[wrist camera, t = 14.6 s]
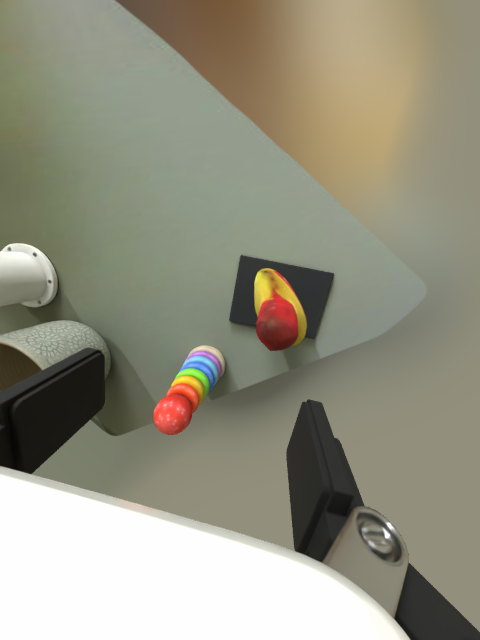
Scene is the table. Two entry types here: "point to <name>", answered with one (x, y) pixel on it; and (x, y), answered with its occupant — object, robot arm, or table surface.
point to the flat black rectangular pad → (303, 281)
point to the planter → (45, 349)
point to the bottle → (277, 311)
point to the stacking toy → (189, 389)
